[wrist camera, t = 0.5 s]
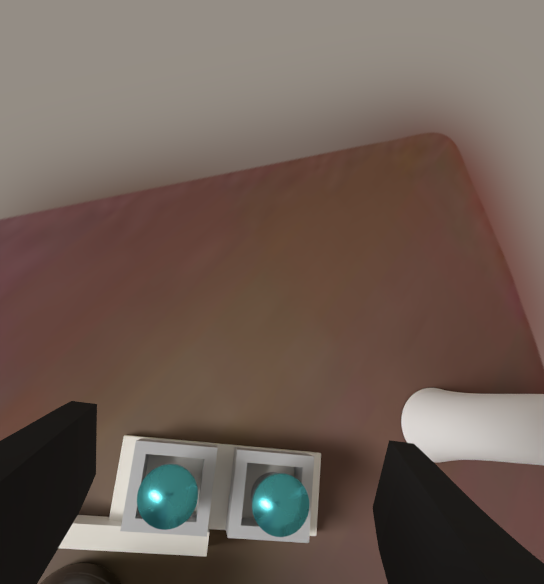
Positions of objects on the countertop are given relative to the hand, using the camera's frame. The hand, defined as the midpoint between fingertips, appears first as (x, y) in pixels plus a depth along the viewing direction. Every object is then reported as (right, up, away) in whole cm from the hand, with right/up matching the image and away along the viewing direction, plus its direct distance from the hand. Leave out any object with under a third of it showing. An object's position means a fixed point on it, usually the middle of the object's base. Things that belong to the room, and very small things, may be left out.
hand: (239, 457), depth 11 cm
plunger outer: (+1, -10, +20) cm, 23 cm away
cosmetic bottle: (+15, -7, +27) cm, 31 cm away
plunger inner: (-6, -9, +19) cm, 22 cm away
